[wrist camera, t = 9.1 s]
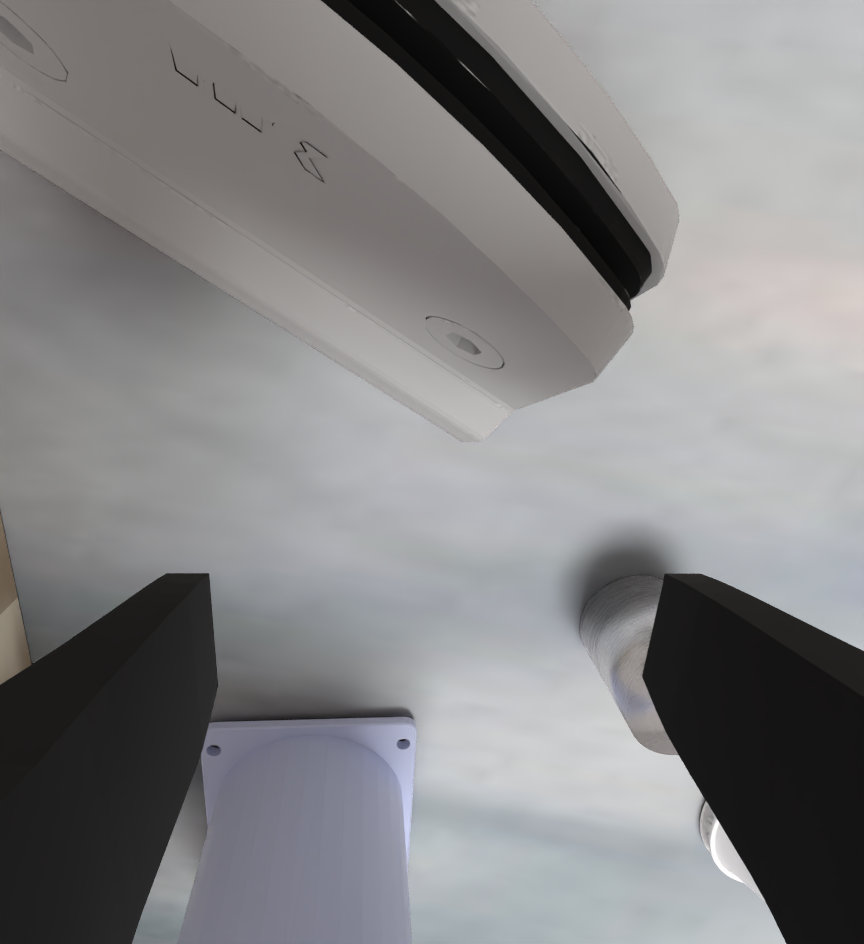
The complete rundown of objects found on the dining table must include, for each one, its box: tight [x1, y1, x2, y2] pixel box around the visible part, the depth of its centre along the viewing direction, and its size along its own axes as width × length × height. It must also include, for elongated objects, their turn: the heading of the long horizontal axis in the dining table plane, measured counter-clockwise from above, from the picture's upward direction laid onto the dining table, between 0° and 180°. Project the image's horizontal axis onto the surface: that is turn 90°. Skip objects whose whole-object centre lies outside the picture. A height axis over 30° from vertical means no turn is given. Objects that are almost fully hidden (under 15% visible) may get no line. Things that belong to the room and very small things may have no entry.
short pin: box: [580, 575, 678, 755], centre depth 21 cm, size 4×4×4 cm
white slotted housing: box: [0, 0, 679, 442], centre depth 13 cm, size 17×5×10 cm, turn 56°
